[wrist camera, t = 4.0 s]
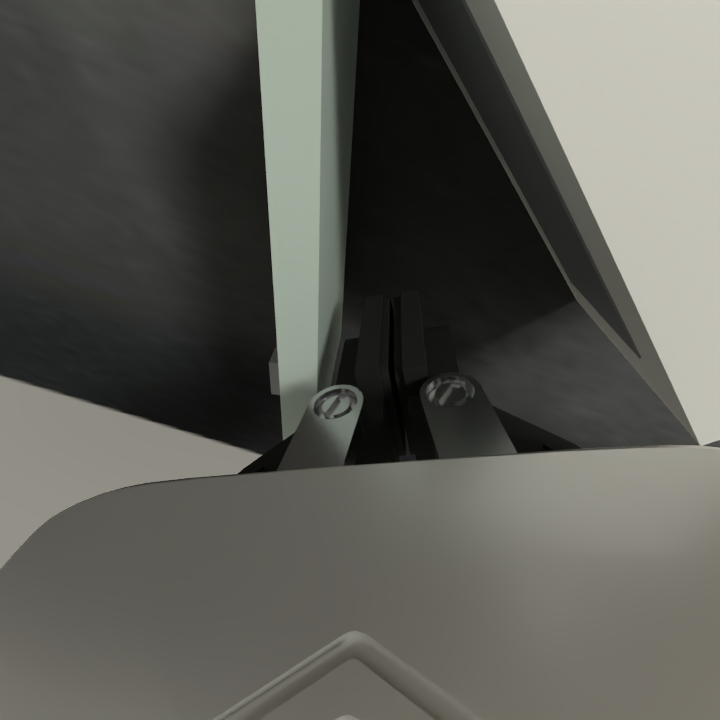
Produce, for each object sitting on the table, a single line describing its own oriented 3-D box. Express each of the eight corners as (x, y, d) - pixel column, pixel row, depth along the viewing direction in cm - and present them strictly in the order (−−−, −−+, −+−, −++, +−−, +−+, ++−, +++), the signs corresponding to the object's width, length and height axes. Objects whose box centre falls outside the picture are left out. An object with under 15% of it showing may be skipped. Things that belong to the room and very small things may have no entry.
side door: (287, -86, 10) (145, -317, 4) (368, -79, 10) (336, -299, 4) (297, 329, 17) (251, 448, 12) (343, 333, 17) (319, 455, 12)
